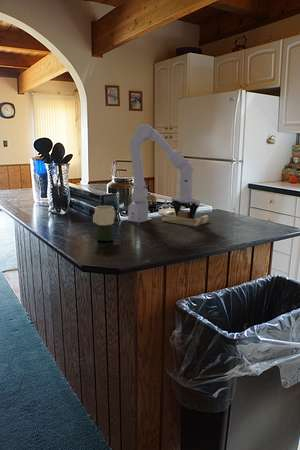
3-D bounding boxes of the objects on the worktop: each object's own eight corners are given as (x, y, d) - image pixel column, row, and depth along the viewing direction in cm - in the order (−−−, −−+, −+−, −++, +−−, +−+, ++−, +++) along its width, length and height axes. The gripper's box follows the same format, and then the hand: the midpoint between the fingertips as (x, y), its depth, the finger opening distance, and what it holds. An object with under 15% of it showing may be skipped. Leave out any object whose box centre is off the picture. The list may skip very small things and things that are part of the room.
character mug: (108, 236, 151) (108, 204, 148) (121, 239, 146) (121, 206, 143) (87, 241, 143) (86, 208, 140) (100, 245, 138) (99, 210, 135)
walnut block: (186, 223, 173) (186, 212, 172) (177, 221, 176) (177, 211, 175) (192, 221, 177) (192, 210, 176) (183, 219, 180) (183, 209, 179)
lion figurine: (137, 208, 208) (136, 192, 205) (132, 206, 212) (132, 190, 210) (159, 205, 215) (160, 190, 212) (155, 204, 219) (155, 189, 217)
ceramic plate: (175, 217, 185) (175, 215, 184) (153, 213, 193) (153, 211, 193) (190, 212, 195) (190, 210, 195) (168, 209, 204) (168, 207, 203)
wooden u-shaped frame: (194, 226, 167) (194, 219, 166) (161, 220, 178) (161, 214, 177) (208, 221, 176) (208, 215, 175) (175, 216, 187) (175, 210, 186)
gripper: (203, 189, 172) (202, 218, 175) (177, 187, 181) (176, 214, 184) (195, 191, 167) (194, 221, 170) (169, 188, 175) (168, 217, 178)
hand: (184, 218), depth 176 cm, fingers open, 7 cm apart
